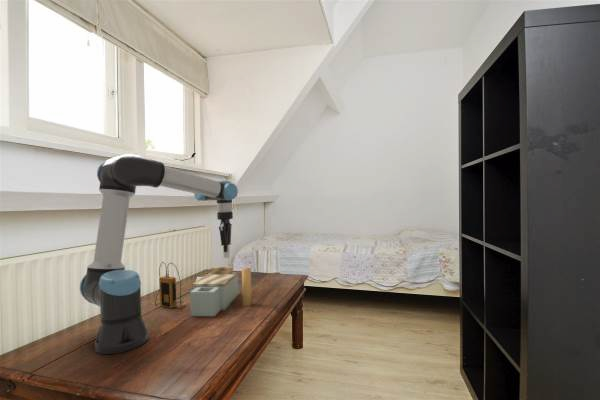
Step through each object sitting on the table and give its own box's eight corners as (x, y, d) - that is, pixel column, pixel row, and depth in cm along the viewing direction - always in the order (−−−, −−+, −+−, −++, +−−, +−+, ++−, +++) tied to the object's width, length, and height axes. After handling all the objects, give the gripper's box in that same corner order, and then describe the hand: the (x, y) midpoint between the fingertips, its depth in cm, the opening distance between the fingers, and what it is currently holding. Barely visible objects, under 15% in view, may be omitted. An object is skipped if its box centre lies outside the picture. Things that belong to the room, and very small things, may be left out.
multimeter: (194, 302, 140) (193, 259, 140) (177, 310, 131) (176, 263, 131) (171, 298, 146) (170, 257, 146) (153, 305, 137) (152, 261, 137)
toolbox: (185, 316, 123) (185, 291, 123) (210, 294, 150) (210, 274, 150) (219, 316, 122) (218, 291, 122) (238, 294, 149) (238, 274, 149)
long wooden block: (250, 306, 132) (249, 269, 132) (241, 306, 133) (240, 269, 133) (252, 303, 136) (251, 267, 136) (244, 303, 137) (242, 267, 137)
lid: (192, 286, 130) (192, 276, 130) (210, 274, 150) (210, 266, 150) (224, 286, 129) (224, 276, 129) (238, 274, 149) (237, 265, 149)
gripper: (222, 210, 160) (223, 255, 161) (212, 212, 147) (214, 260, 148) (235, 210, 159) (237, 255, 160) (228, 212, 147) (229, 260, 147)
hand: (226, 257), depth 154 cm, fingers closed
